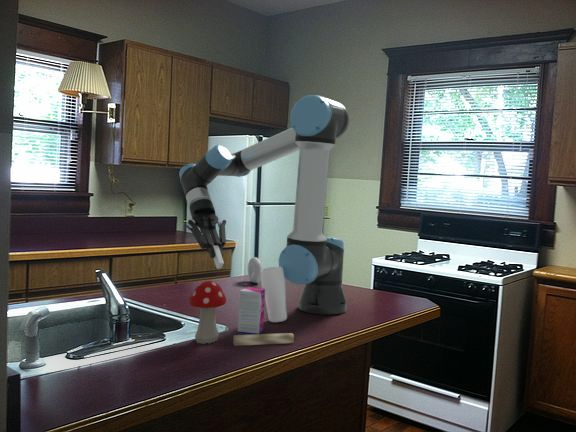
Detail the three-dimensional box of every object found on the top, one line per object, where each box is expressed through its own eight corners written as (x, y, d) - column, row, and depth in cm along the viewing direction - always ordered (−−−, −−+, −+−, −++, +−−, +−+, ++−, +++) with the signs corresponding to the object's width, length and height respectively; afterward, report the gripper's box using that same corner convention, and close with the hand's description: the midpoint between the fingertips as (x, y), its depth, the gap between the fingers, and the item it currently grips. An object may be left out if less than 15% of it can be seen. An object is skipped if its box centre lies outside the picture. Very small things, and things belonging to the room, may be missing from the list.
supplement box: (258, 335, 148) (260, 292, 147) (236, 333, 149) (238, 290, 149) (264, 330, 154) (265, 288, 153) (243, 328, 155) (244, 286, 154)
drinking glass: (275, 316, 168) (269, 266, 167) (294, 317, 164) (288, 266, 162) (261, 323, 162) (254, 271, 161) (280, 324, 158) (273, 271, 157)
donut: (246, 280, 224) (246, 255, 223) (254, 280, 226) (255, 255, 225) (254, 285, 215) (255, 259, 214) (263, 285, 216) (264, 259, 216)
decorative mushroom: (209, 348, 136) (210, 286, 135) (180, 342, 140) (182, 281, 139) (232, 338, 145) (234, 280, 144) (204, 333, 149) (206, 276, 148)
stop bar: (291, 340, 145) (291, 332, 145) (293, 342, 143) (293, 335, 143) (233, 343, 141) (233, 335, 141) (234, 345, 139) (234, 337, 139)
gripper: (215, 213, 187) (236, 272, 174) (177, 212, 180) (195, 274, 167) (223, 197, 182) (244, 257, 169) (184, 197, 175) (203, 259, 162)
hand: (220, 265), depth 168 cm, fingers closed
